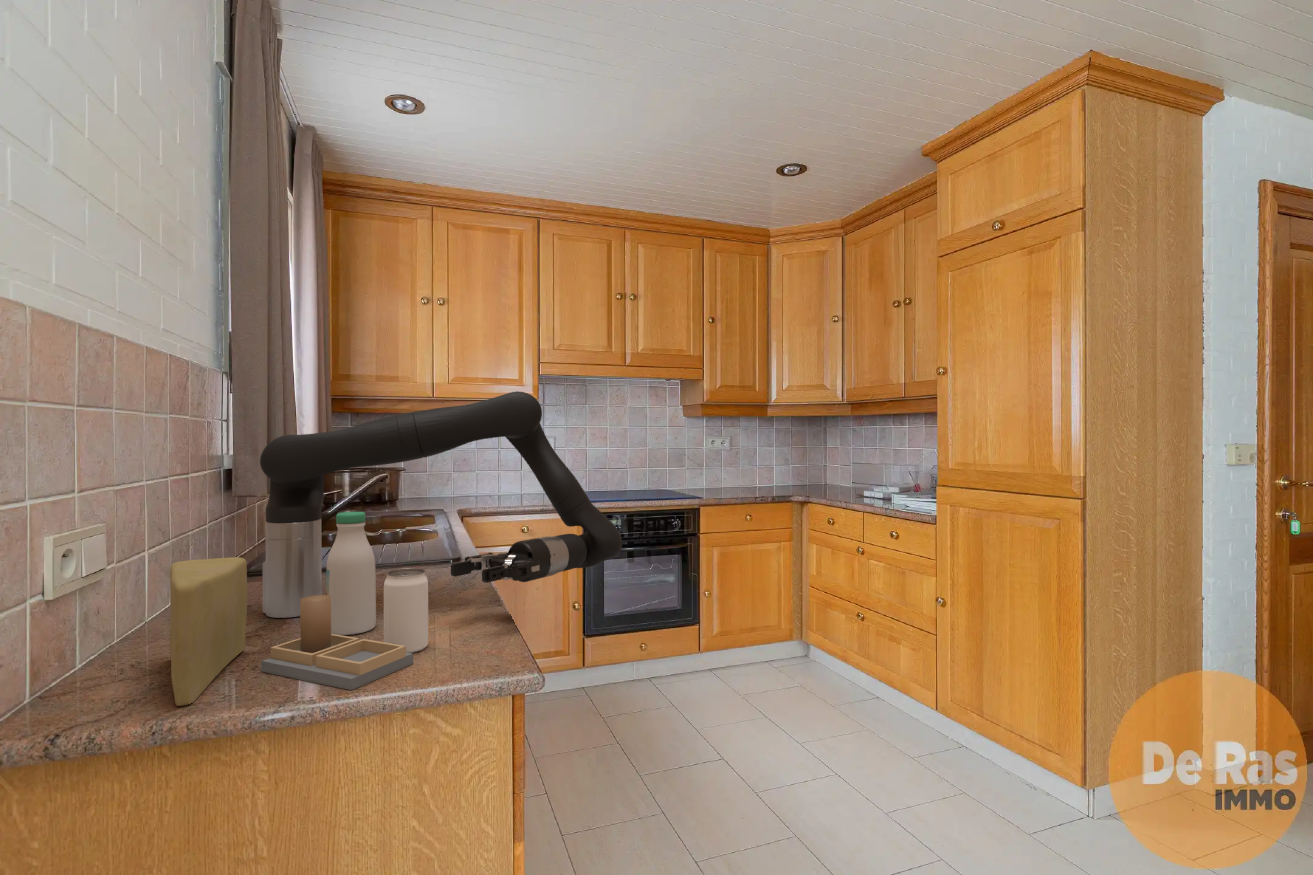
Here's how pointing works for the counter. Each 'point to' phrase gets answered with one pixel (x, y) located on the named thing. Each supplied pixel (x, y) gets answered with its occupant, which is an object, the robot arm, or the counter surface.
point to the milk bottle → (351, 577)
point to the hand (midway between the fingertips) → (467, 573)
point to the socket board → (332, 652)
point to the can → (406, 609)
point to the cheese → (205, 621)
